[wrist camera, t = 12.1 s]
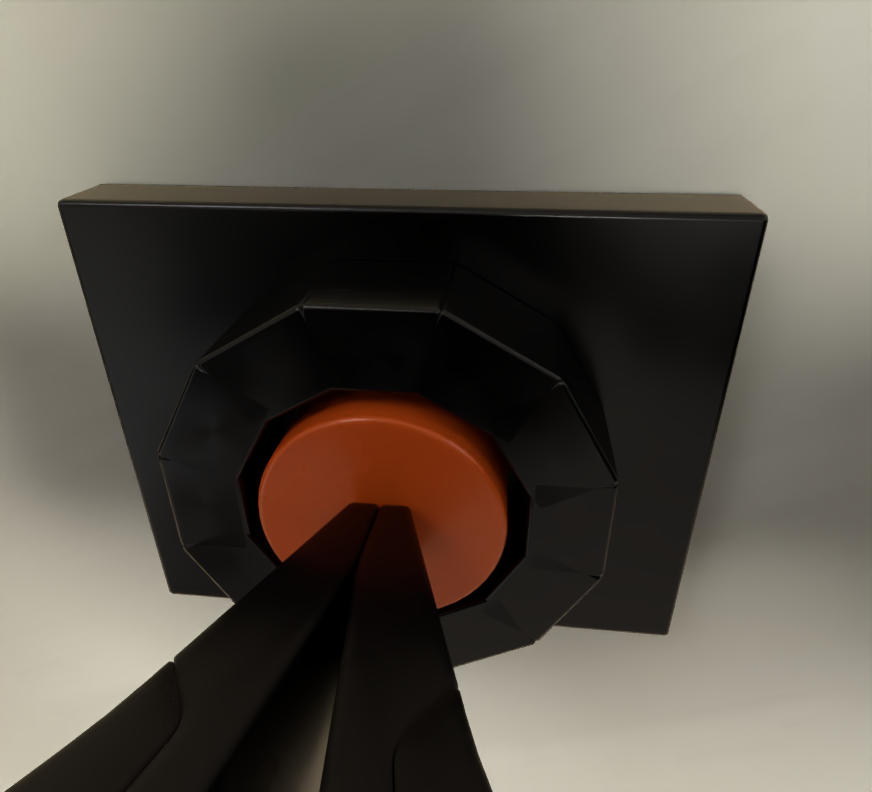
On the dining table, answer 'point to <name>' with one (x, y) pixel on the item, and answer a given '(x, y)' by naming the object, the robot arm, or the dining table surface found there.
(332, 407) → the button
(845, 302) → the dining table surface
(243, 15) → the dining table surface
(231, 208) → the black button base
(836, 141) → the dining table surface
